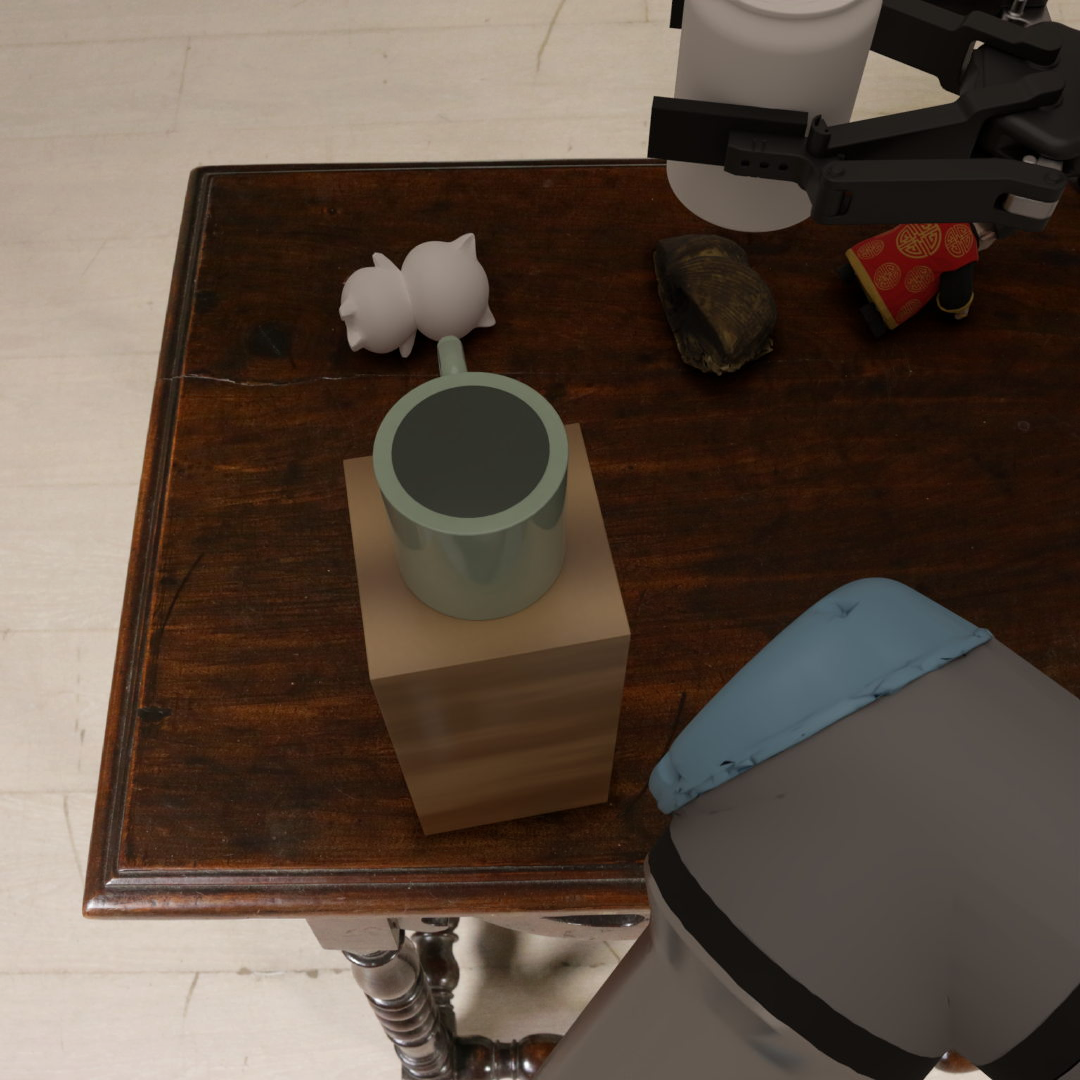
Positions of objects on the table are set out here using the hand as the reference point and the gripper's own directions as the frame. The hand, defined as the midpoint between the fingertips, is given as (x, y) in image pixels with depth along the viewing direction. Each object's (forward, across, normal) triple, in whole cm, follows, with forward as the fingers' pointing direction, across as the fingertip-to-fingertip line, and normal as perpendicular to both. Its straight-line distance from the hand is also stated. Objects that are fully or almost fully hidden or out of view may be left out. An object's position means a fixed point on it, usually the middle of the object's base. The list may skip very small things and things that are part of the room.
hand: (662, 59), depth 52 cm
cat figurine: (+19, -15, +40) cm, 46 cm away
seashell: (-5, -19, +40) cm, 44 cm away
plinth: (+5, +18, +39) cm, 44 cm away
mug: (+6, +17, +13) cm, 22 cm away
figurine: (-22, -24, +40) cm, 51 cm away
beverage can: (-5, 0, +7) cm, 8 cm away
